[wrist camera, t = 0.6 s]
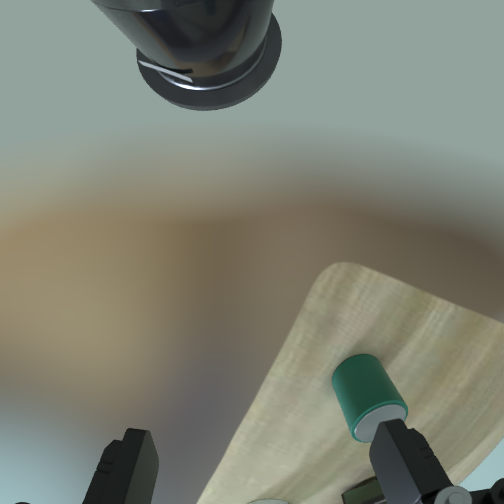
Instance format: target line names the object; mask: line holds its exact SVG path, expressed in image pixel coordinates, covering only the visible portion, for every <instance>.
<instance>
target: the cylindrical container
mask: <svg viewBox="0 0 504 504" xmlns="http://www.w3.org/2000/svg"><path fill="white" fill-rule="evenodd" d="M248 504H289V503H288V502H286V501H283V500H278V499H264V500H257V501H254V502H251V503H248Z"/></svg>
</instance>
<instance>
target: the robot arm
mask: <svg viewBox="0 0 504 504" xmlns="http://www.w3.org/2000/svg"><path fill="white" fill-rule="evenodd" d="M91 1H92V2H93V3H94V4H95V5H96V6H97V7H98V8H99V9H100V10H101V11H102V12H103V13H104V14H105V15H106V16H107V17H108V18H109V19H110V20H111V21H112V22H113V23H114V24H115V25H116V26H117V27H118V28H119V29H120V30H121V31H122V33H123V34H124V35H125V36H126V37H127V38H128V39H129V40H130V41H131V42H132V43H133V44H134V45H135V46H136V47H137V48H138V49H139V50H140V51H141V52H142V53H143V55H144V56H145V57H146V58H147V59H148V60H149V61H150V62H151V63H152V64H153V65H151V64H148V63H145V62H142V61H139V60H138V61H139V62H140V63H141V64H142V65H144V66H147V67H150V68H153V69H156V70H157V72H158V73H159V74H160V75H161V76H162V77H163V78H164V79H165V80H167V81H168V82H169V83H171V84H173V85H175V86H177V87H179V88H182V89H185V90H189V91H196V92H209V91H216V90H220V89H224V88H227V87H230V86H232V85H234V84H236V83H238V82H240V81H241V80H243V79H244V78H245V77H247V76H248V75H249V74H250V73H251V72H252V71H253V70H254V69H255V68H256V66H257V65H258V64H259V62H260V60H261V58H262V56H263V54H264V50H265V46H266V41H267V31H268V26H269V22H270V17H271V12H272V7H273V3H274V0H91ZM369 455H370V461H371V464H372V466H373V469H374V471H375V474H376V476H377V479H378V481H379V484H380V486H381V489H382V491H383V494H384V496H385V499H386V502H387V504H504V478H502V479H499V480H498V481H497V482H495V484H494V485H493V486H492V487H491V488H490V489H484V490H478V491H472V492H468V491H467V490H466V489H465V488H463V487H460V486H454V485H453V484H452V483H451V481H450V480H449V478H448V476H447V474H446V473H445V471H444V469H443V468H442V466H441V464H440V463H439V461H438V459H437V458H436V456H434V452H433V451H432V449H431V448H429V444H428V443H427V441H426V439H425V438H424V436H423V435H422V434H420V433H419V432H418V431H416V430H415V429H414V428H411V429H407V427H406V425H405V423H404V422H403V420H402V419H400V418H397V419H392V420H387V421H382V422H380V423H379V424H378V427H377V430H376V433H375V436H374V438H373V441H372V444H371V446H370V452H369ZM158 468H159V459H158V454H157V451H156V448H155V445H154V442H153V439H152V436H151V433H150V431H148V430H140V429H133V428H128V429H127V430H126V432H125V435H124V438H123V440H122V441H120V440H113V441H112V442H111V443H110V444H109V445H108V446H107V447H106V448H105V449H104V452H103V454H102V456H101V459H100V462H99V464H98V466H97V468H96V469H97V471H95V473H94V476H93V478H92V481H91V483H90V486H89V488H88V491H87V493H86V496H85V499H84V501H83V503H82V504H151V500H152V495H153V491H154V487H155V482H156V478H157V473H158ZM16 504H29V503H26V502H19V503H16Z"/></svg>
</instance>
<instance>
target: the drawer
mask: <svg viewBox="0 0 504 504" xmlns="http://www.w3.org/2000/svg"><path fill="white" fill-rule="evenodd" d="M344 497H345V500H346V504H387V502H386V499H385V496H384V494H383V491H382V489H381V486H380V484H379V481H378V480H376V481H374V482H371V483H369V484H366V485H364V486H361V487H358V488H356V489H353V490H350V491H348V492H345V493H344Z"/></svg>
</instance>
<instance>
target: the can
mask: <svg viewBox="0 0 504 504" xmlns="http://www.w3.org/2000/svg"><path fill="white" fill-rule="evenodd" d="M332 385H333V388H334V390H335V393H336V396H337V398H338V401H339V403H340V406H341V409H342V411H343V414H344V417H345V419H346V422H347V425H348V427H349V430H350V433H351V435H352V437H353V438H354V439H355V440H357V441H359V442H372V441H373V438H374V436H375V433H376V430H377V427H378V424H379V423H380V422H382V421H387V420H392V419H397V418H400V419H402V420H403V422H404V421H405V419H406V417H407V414H408V407H407V405H406V404H405V402H404V400H403V399H402V397H401V395H400V394H399V392H398V391H397V389H396V387H395V386H394V384H393V383H392V381H391V379H390V378H389V376H388V375H387V373H386V371H385V370H384V368H383V367H382V365H381V364H380V362H379V361H378V359H377V358H375V357H374V356H372V355H368V354H361V355H356V356H353V357H351V358H349V359H347V360H345V361H344V362H343V363H341V364H340V365H339V366H338V367H337V369H336V370H335V372H334V374H333V377H332Z"/></svg>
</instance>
